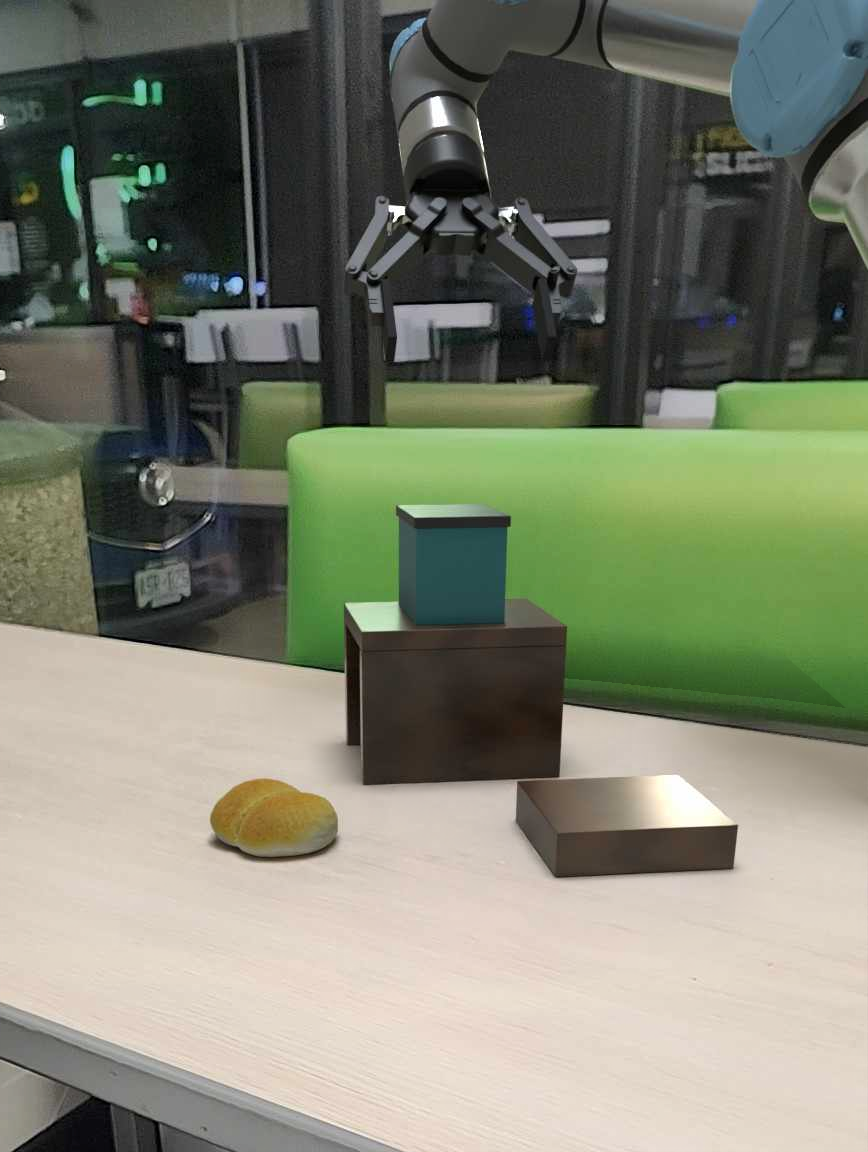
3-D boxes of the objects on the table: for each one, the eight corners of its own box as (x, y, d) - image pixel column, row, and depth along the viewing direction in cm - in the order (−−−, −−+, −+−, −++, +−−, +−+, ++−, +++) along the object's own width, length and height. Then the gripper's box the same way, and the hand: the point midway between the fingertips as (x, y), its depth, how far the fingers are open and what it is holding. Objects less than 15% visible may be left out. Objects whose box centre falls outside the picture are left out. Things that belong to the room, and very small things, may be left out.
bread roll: (273, 869, 87) (271, 811, 86) (193, 837, 93) (190, 783, 92) (365, 840, 93) (365, 785, 91) (284, 813, 99) (282, 760, 97)
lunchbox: (481, 602, 113) (484, 503, 110) (507, 623, 103) (511, 515, 100) (395, 604, 112) (395, 505, 109) (413, 625, 103) (414, 517, 99)
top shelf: (521, 734, 120) (527, 598, 115) (559, 776, 107) (567, 625, 102) (345, 740, 118) (343, 602, 113) (363, 784, 105) (361, 631, 100)
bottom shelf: (674, 813, 98) (678, 774, 97) (733, 868, 87) (738, 824, 86) (515, 820, 97) (516, 780, 95) (555, 877, 86) (557, 833, 85)
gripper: (569, 207, 125) (603, 382, 117) (305, 205, 122) (322, 384, 114) (588, 132, 118) (625, 313, 110) (307, 128, 115) (326, 313, 107)
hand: (470, 350), depth 112 cm, fingers open, 13 cm apart
